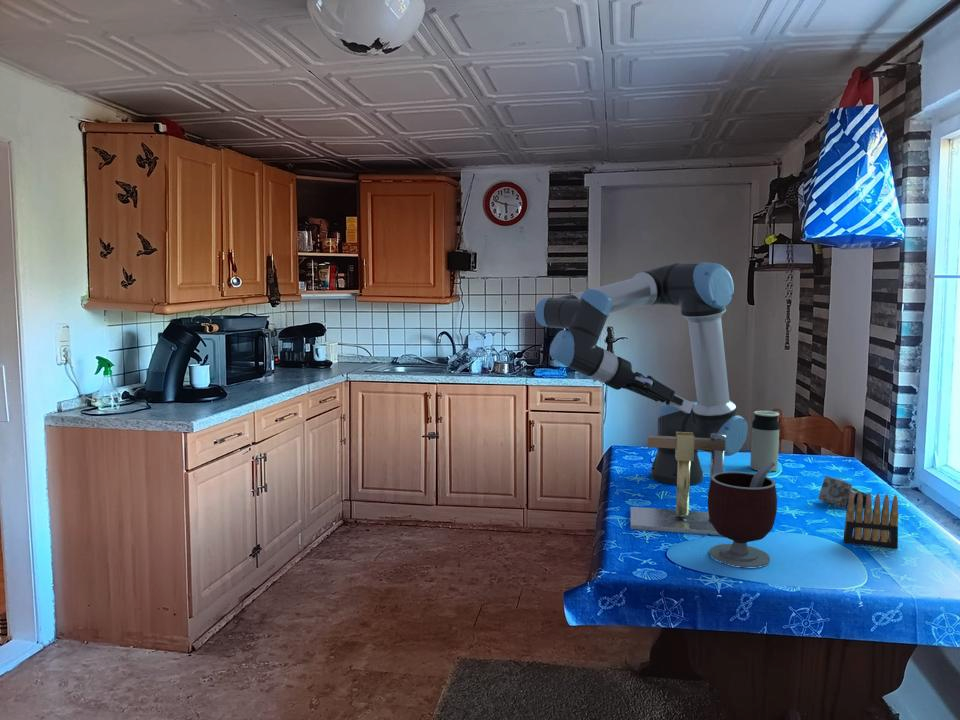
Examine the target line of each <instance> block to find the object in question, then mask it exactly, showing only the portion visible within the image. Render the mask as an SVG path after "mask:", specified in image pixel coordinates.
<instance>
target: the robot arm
mask: <svg viewBox="0 0 960 720" xmlns="http://www.w3.org/2000/svg"><path fill="white" fill-rule="evenodd" d="M734 285H735V284H734V281H733V277H732V275H731V273H730V272H729V270H728V268H726V267H724V265H722V264H720V263H715V262H707V261H705V262H703V261H702V262H701V261H700V262H687V263H686V262H683V263H682V262H681V263H679V262H676V263H669V264H665V265H662V266H657V267H655V268H651V269H648V270H645V271H640V272H638V273H636V274H635V275H634V276H633V277H632V278H629V279H625V280H621V281H617V282H613V283H610V284H605V285H602V286H598V287H594V288H587V289H585V290H584V291H579V292H575V293H571V294H569V295H563V296H560V297H545V298H542V299H541V300H539V301H538V303H537V304H536V306H535V309H534V316H535V321H537V323H538V324H539V325H541V326H542V327H547V328H549V329H553V328H555V329H562V330H560V331H558V332H557V334H556V335H555V336H554V339H553V340H552V341H551V344H550V347H549V355H550V357H551V359H552V360H555V361H556V362H557V363H560V364H561V365H562V366H565V367H566V368H567V367H568V368H570V369H572V370H574V371H576V372H578V373H580V374H582V375H585V376H587V377H588V378H589V377H590V378H592V382H597V381H598V382H600V383H602V384H604V385H606V386H607V387H609V388H611V389H614V390H615V391H618V390H621V389H623V390H624V389H625V390H627V391H631V392H633V393H635V394H638V395H641V396H642V397H646V398H647V399H650V400H652V401H655V402H656V403H657V402H660V403H662V404H661V405H660V406H659V408H658V417H657V436H673V437H676V432H692V433H693V436H695V438H710V436H711V434H712V433H721V434H725V435H726V441H725V451H724V457H731V456H733V455H736V454H737V453H738V452H740V450H741V449H742V447H743V445H744V444H745V442H746V440H747V437H748V431H749V430H748V429H749V427H748V422H747V420H746V419H745V418H744V417H742V416H741V415H738V413H737V406H736V404H735V403H734V402H733V401H731V400H730V393H729V384H728V383H729V382H728V372H727V364H726V355H725V354H726V353H725V343H724V333H723V325H722V316H723V315H724V313H726V312H727V306H728V305H729V304H730V302H732V300H733V297H732V296H733V295H734V290H735V287H734ZM654 305H663V306H664V305H666V306H676V307H679V306H680V313H681V315H680V316H682V317H683V318H684V319H685V320H687V323H688V331H689V334H688V335H689V341H690V349H691V350H690V352H691V357H692V366H693V368H692V369H693V376H694V383H695V384H694V385H695V393H696V401H689V400H687V399H686V398H684V397H682V396H680V395H678V394H675V393H676V391H675V390H674V389H671V388H670V387H668V386H666V385H665V384H663V383H662V382H659V381H658V380H656V379H655V378H654V377H653V376H651V375H646V376H644V374H642V373H640V372H638V371H635V372H634V371H633V365H632V363H631V362H630V361H629V360H627V359H624V358H623V357H620V356H617V355H616V354H615V353H613V352H611V351H609V350H607V349H605V348H603V347H600V346H598V345H597V344H598V343H599V342H598V341H599V340H600V337H601V333H602V332H603V330H604V326H605V324H606V322H607V319H608V317H609V316H610V314H612V313H615V312H620V311H624V310H627V309H629V308H633V307H637V306H642V307H650V306H654ZM675 449H676V448H657V451H656V455H655V457H654V460H653V463H652V466H651V467H650V468H651V469H650V478H651V479H652V480H654V481H656V482H659V483H661V484H667V485H673V486H674V485H675V486H677V468H678V460H676V457H675ZM700 451H703V452H705V453H706V452H707V453H710V454H711V450H700ZM698 452H699V450H696V449H694V461H691V464H690V486H692V485H697V484H700V483H702V482H703V481H704V472H703V470H702V465H701V461H700V458H699V454H698Z"/></svg>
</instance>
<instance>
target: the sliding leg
mask: <svg viewBox="0 0 960 720" xmlns="http://www.w3.org/2000/svg"><path fill="white" fill-rule="evenodd" d="M676 437H677V449H675V457H676V460H678V468H677V485H676V498H675V499H676V501H675V502H676V503H675V504H676V505H675V510H676V514H678V515H680V518H684V515H688V514H689V511H690V488H691V487H690V486H691V485H690V464H691V461H694V437H695V436H693V433H692V432H676Z"/></svg>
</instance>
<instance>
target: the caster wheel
mask: <svg viewBox="0 0 960 720" xmlns="http://www.w3.org/2000/svg"><path fill="white" fill-rule="evenodd" d="M823 479H824V480H823V481H822V485H821V488H820V491H819V494H818V498H817V499H818V500H819V501H821V502H824V503H827V504H829V505H833V506H834V507H838V508H841V509H845V508H846V505H847V504H848V498H849V494H850V492H851V491H852V492H853V495H854V504H855V505H856V504H857V498H858V494H859V492H861V493H862V497H863V507H865V504H866V498H867V495H868V493H865V492H863V491H860V490H858V489H857V488H856V487H853V484H851V483H849V482H848V483H847V482H846V480H843V479H841V478H836V477H835V478H833V477H831V476H828V475H825V477H824V478H823Z"/></svg>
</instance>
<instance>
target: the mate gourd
mask: <svg viewBox="0 0 960 720" xmlns="http://www.w3.org/2000/svg"><path fill="white" fill-rule="evenodd" d="M773 466H775V463H773V462H772V463H770V464H768V465H766V466H765V467H763V468H761V469H760V470H759V471H756V472H755V473H753V472H752V473H751V472H745V471H744V472H743V471H724V472H721V473H716V474H714V475H712V476H711V482H710V481H709V486H708V490H707V512H709V518H710V522H711V524H712V525H713V527H714V528H715V530H716V531H717V532H718V533H719V534H720V535H719V536H721V535H722V537H724V538H727V539H729V540H731V541H732V543H721V544H716V545H714V546H712V547H710V549H709V556H710V555H711V556H712V557H713V558H714V559H716V560H718V561H721V562H723V563H726V564H730V565H734V566H740V567H759V566H764V565H767V564H768V563H769V562H771V556H770V555H769V554H768V553H767V552H766V551H764V550H761V549H759V548H757V547H753V546H750V545H748V543H750V542H756V541H757V542H758V541H760V540H762V539H764V538H765V537H766V536H767V535H768V534H769V533H771V532H772V530H773V527H774V525H775V521H776V518H777V512H778V496H777V495H778V494H777V488H776V481H775V480H774V479H772V478H770V477H768V474H769V473H770V472H769V470H770V469H771V468H772V467H773ZM714 559H713V560H714ZM769 564H770V563H769ZM769 564H768V565H769ZM768 565H767V566H768Z"/></svg>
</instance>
